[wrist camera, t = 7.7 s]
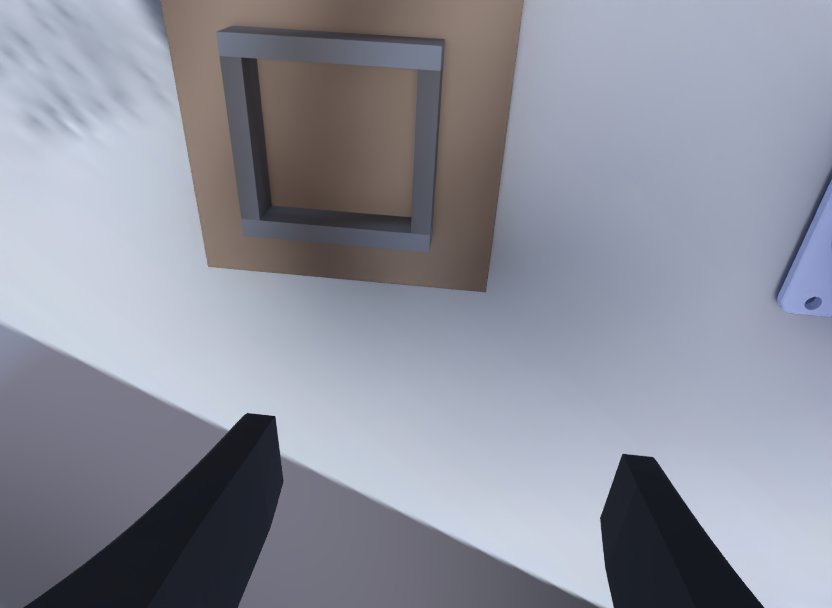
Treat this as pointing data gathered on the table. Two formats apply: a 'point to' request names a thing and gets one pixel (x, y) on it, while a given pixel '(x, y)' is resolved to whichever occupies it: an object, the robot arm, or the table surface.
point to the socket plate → (347, 133)
